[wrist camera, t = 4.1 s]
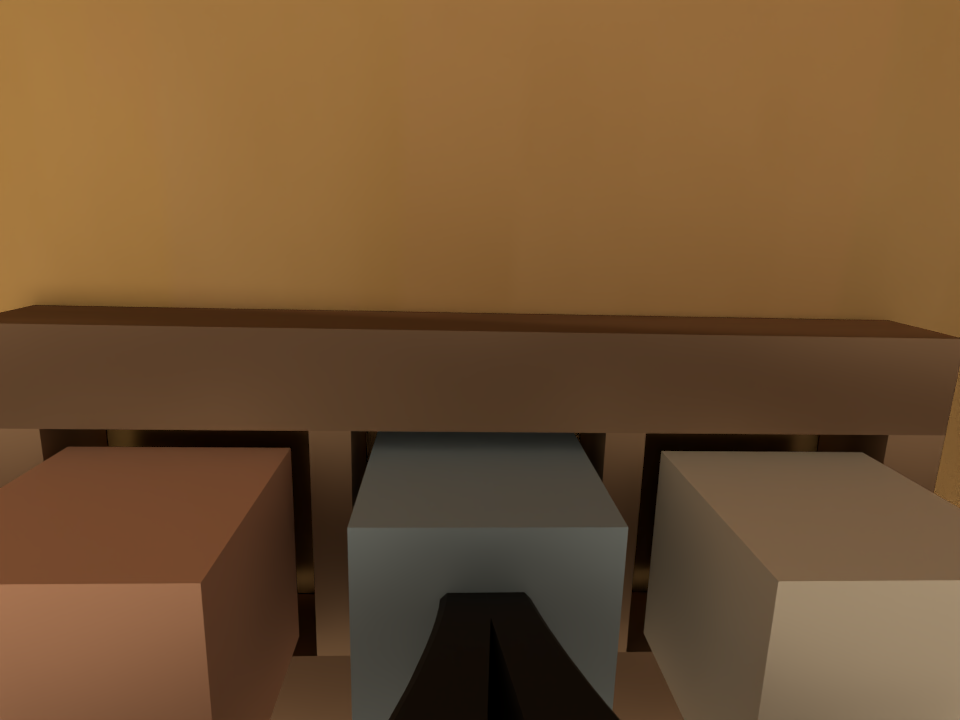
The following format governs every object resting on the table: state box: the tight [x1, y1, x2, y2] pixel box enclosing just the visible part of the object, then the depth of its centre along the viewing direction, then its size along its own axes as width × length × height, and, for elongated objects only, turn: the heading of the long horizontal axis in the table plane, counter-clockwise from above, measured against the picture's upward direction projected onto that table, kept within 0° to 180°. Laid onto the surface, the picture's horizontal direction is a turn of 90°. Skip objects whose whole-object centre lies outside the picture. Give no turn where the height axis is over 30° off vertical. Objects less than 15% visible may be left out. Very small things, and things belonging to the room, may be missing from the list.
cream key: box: [644, 451, 960, 720], centre depth 11 cm, size 4×4×5 cm
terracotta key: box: [0, 447, 299, 720], centre depth 10 cm, size 4×4×5 cm
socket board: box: [0, 305, 960, 720], centre depth 14 cm, size 9×19×2 cm, turn 89°
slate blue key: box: [347, 431, 628, 720], centre depth 12 cm, size 4×4×5 cm
